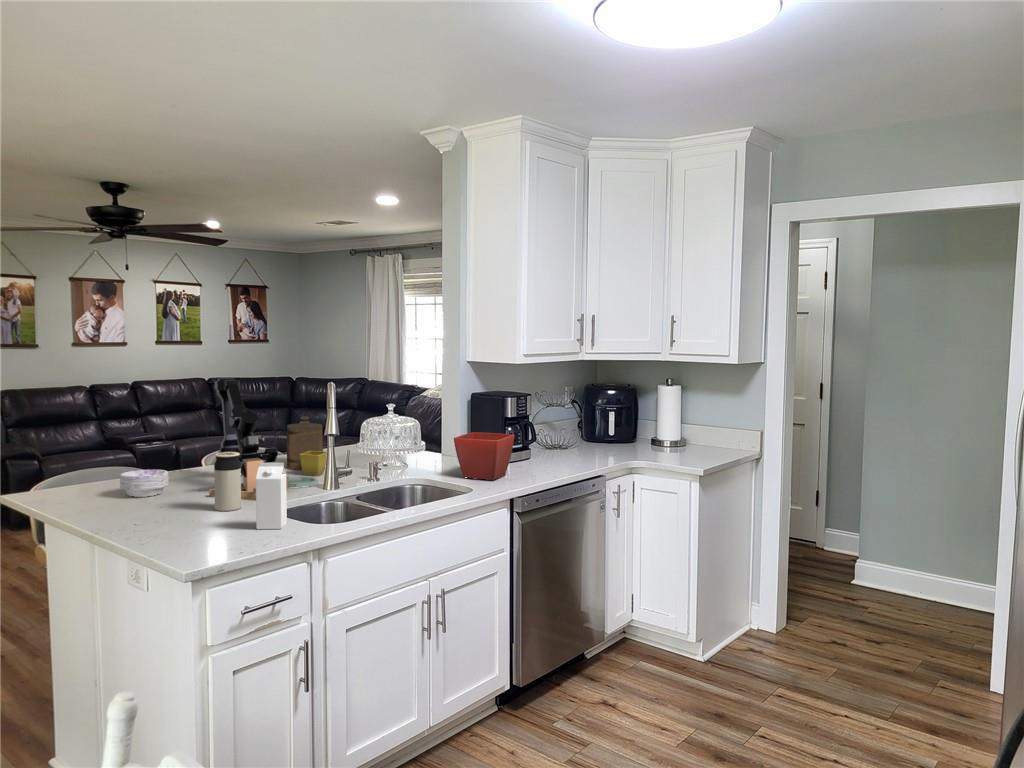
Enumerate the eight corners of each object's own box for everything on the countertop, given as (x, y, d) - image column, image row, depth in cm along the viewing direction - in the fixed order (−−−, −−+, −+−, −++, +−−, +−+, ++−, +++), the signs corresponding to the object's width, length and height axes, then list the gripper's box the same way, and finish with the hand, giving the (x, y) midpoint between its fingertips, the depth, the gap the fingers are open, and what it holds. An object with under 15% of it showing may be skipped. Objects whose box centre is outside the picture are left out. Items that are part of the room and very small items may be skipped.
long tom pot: (243, 493, 261) (243, 458, 260) (259, 491, 264) (259, 457, 263) (247, 496, 256) (247, 461, 255) (263, 494, 259) (263, 459, 258)
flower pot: (319, 477, 291) (319, 455, 290) (299, 476, 293) (299, 454, 292) (329, 473, 300) (329, 451, 299) (309, 472, 301) (309, 450, 301)
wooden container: (307, 463, 323) (307, 413, 322) (330, 466, 314) (330, 415, 313) (279, 467, 311) (279, 416, 310) (302, 471, 302) (301, 418, 301)
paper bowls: (159, 488, 267) (159, 466, 267) (175, 495, 257) (175, 472, 256) (114, 494, 257) (113, 471, 256) (128, 501, 246) (127, 478, 245)
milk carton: (262, 523, 220) (261, 460, 219) (286, 523, 220) (286, 460, 219) (256, 529, 213) (255, 465, 212) (281, 529, 213) (280, 464, 212)
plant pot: (452, 479, 290) (452, 437, 289) (472, 471, 308) (473, 431, 306) (496, 483, 283) (497, 440, 282) (515, 475, 300) (515, 434, 299)
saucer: (274, 486, 272) (274, 482, 272) (292, 480, 285) (292, 476, 285) (305, 488, 269) (305, 484, 269) (323, 482, 282) (323, 478, 282)
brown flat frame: (209, 496, 254) (209, 485, 254) (244, 485, 275) (244, 474, 274) (256, 500, 250) (256, 488, 250) (288, 488, 270) (288, 477, 270)
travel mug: (225, 512, 232) (224, 456, 231) (209, 509, 236) (208, 454, 235) (246, 508, 239) (245, 453, 238) (230, 504, 243) (229, 450, 242)
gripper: (222, 428, 257) (230, 464, 248) (276, 425, 267) (285, 460, 259) (217, 448, 264) (225, 483, 255) (270, 444, 274) (279, 478, 266)
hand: (254, 475), depth 258 cm, fingers closed on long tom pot, 6 cm apart
